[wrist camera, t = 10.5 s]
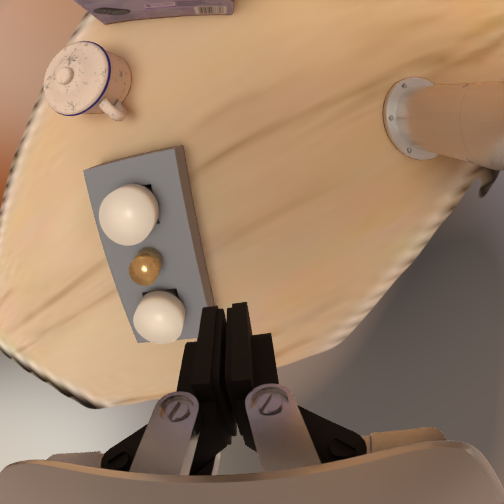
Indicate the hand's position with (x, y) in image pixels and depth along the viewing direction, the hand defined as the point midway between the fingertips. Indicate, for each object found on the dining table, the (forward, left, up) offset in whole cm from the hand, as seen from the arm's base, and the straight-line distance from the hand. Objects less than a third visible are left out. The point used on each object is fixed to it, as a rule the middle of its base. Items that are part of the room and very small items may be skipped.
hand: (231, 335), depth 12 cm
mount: (+12, +7, -32) cm, 35 cm away
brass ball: (+12, +7, -26) cm, 29 cm away
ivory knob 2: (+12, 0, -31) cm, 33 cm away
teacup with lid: (+15, -16, -32) cm, 39 cm away
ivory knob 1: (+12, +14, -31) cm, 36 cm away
